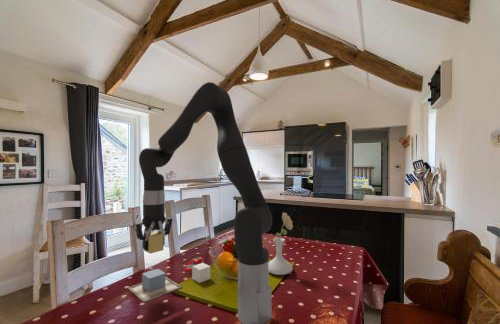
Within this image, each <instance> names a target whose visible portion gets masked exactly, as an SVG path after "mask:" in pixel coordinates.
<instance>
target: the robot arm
mask: <svg viewBox="0 0 500 324" xmlns="http://www.w3.org/2000/svg"><path fill="white" fill-rule="evenodd" d="M206 112H208V113H210V114H211V116H212V118H213V120H214V122H215V126H216V129H217V143H216V151H217V156H218V159H219V161H220V162H219V163H220V165H221V169H222V171H223V172H224V174H225V176H226V178H227V179H228V180H229V181H230V182H231V184H232V185H233V186H234V188H236V190H237V192H238V193H239V195H240V198H241V201H242V203H243V208H241V209H239V210H238V211H237V212H236V214H235V216H234V222H233V227H234V228H233V232H234V234H233V235H234V247H235V252H236V255H237V319H238V321H239V322H240V323H241V324H266V323H268V322H270V321H271V320H272V317H273V316H272V311H273V310H272V286H270V283H269V282H270V281H269V279H270V278H269V277H270V275H269V273H270V272H269V262H270V261H269V259H270V258H269V254H270V253H269V251H268V249H267V248H266V247H263V235H265V234H267V233H268V232H269V231H270V230H271V228H272V225H273V216H272V215H273V214H272V213H271V210H270V207H269V206H268V203H267V201H266V200H265V198H264V195H263V192H262V190H261V188H260V185H259V183H258V180H257V177H256V174H255V171H254V168H253V166H252V163H251V160H250V156H249V153H248V150H247V148H246V145H245V142H244V140H243V137H242V135H241V131H240V129H239V127H238V124H237V121H236V117H235V113H234V112H235V111H234V107H233V104H232V99H231V96H230V95H229V92H227V91H226V90H225V89H224V88H223V87H221V86H219V85H218V84H216V83H214V82H211V81H208V82H205V83H203V84H202V85H200V87H198V89H197V90H196V91H195V93H194V94H193V95H192V97H191V99H190V100H189V101H188V103H187V104H186V105H185V107H184V109H183V110H182V112H181V113H180V114H179V116H178V117H177V119H176V120H175V121H174V122H173V123H172V125H171V126H170V127H169V128H168V129H167V130H166V131H165V132H164V133H163V134H162V135H161V136H160V137H159V139H158V141H157V144H158V146H159V147H158V148H157V147H156V148H155V147H146V148H144V149H142V150H141V152H140V154H139V156H138V161H139V166H140V167H139V168H140V170H141V175H142V177H143V196H142V216H143V217H142V220H141V221H140V222H134V224H133V227H134V232H135V234H136V238H137V239H138V240H140V241H142V250H145V251H144V252H146V251H148V239H149V236H150V234H151V232H155V231H157V232H160V233H163V246H165V243H166V242H165V238H166V237H165V236H168V235H170V233H171V229H172V228H171V227H172V225H173V218H171V217H165V213H166V210H165V207H166V205H165V204H166V194H165V177H164V175H163V174H161V173H158V170H157V168H162V167H165V166H167V164H168V163H169V162H170V161H171V159H172V157H173V156H174V154H175V152H176V151H177V150H178V149H179V148H180V147H181V146H182V145H183V144H184V143H185V142H186V140H187V139H188V138H189V136H190V134H191V132H192V130H193V126H194V124H195V122H196V121H197V120H198V119H199V118H200V117H201V116H202V115H203V114H204V113H206ZM164 224H165V225H164ZM143 226H144V228H143ZM142 228H143V231H142Z"/></svg>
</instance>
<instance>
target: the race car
mask: <svg viewBox="0 0 500 324" xmlns="http://www.w3.org/2000/svg"><path fill="white" fill-rule="evenodd" d="M201 263H204V264H205V259H204V257H203V258H202V257H194V258H193V259H191V260H190V261H189V262H188V263H187V265H186V266H184V267H185V268H184V269H183V272H184V273H186V274H192V266H195V265H198V264H201Z"/></svg>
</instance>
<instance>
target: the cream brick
mask: <svg viewBox="0 0 500 324" xmlns="http://www.w3.org/2000/svg"><path fill="white" fill-rule="evenodd" d="M191 277H192V280H193V281H195V282H197V283H199V284H200V283H203V282H206V281H208V280H210V279H211V266H210V265H208V264H207V263H205V262H204V263H201V264H198V265H195V266H192V273H191Z"/></svg>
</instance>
